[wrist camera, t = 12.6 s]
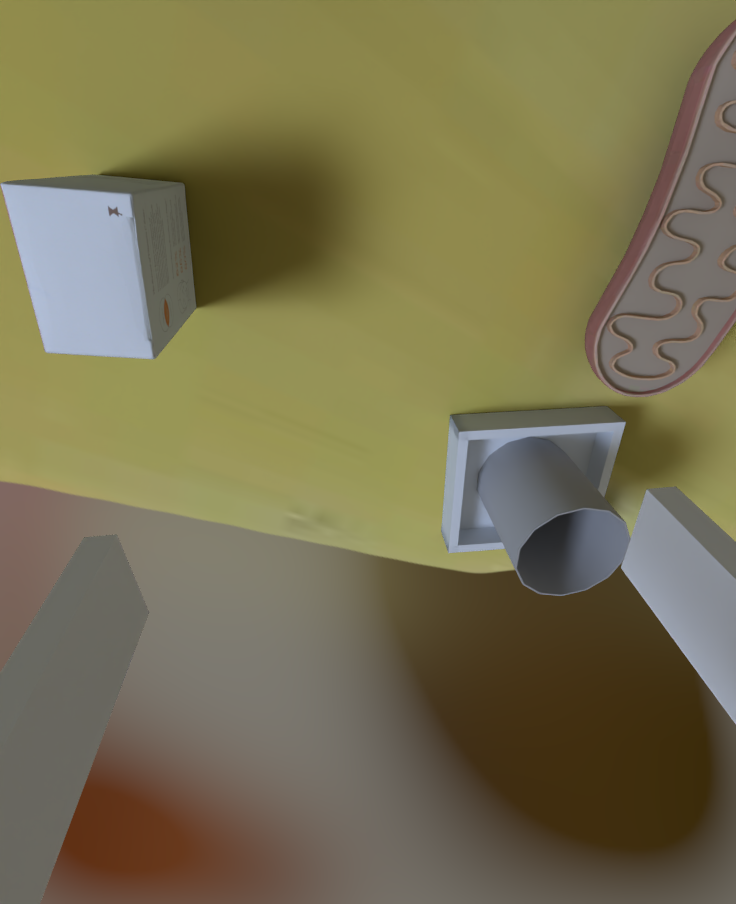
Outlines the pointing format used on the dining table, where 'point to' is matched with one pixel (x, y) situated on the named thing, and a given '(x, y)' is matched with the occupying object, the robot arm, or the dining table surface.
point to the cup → (551, 518)
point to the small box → (104, 261)
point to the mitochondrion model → (678, 248)
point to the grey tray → (478, 435)
